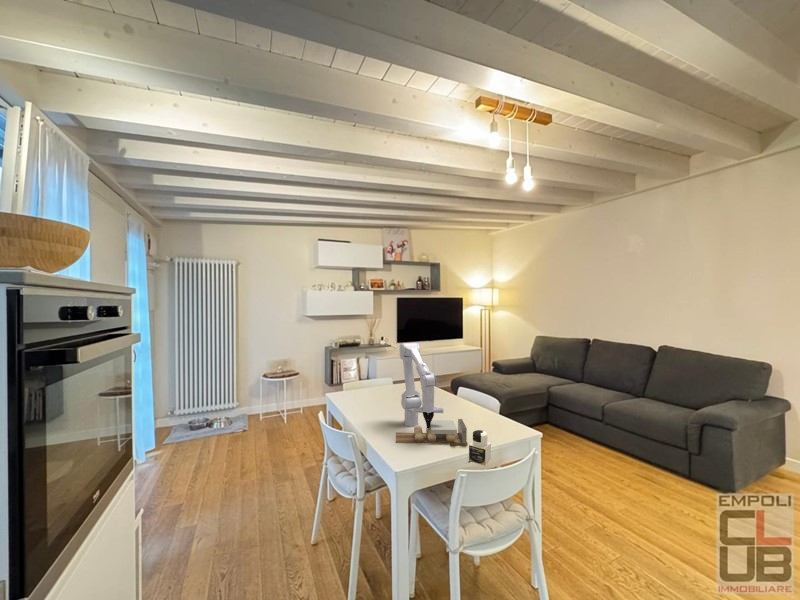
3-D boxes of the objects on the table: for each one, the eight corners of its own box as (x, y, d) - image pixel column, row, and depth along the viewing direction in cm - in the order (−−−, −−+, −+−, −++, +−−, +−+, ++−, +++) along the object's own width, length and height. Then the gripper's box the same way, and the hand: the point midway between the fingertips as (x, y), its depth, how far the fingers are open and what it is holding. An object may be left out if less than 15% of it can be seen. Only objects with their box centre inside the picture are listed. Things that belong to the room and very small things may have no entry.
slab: (429, 424, 168) (429, 420, 168) (453, 424, 168) (453, 420, 168) (431, 433, 156) (431, 429, 156) (457, 434, 156) (457, 429, 156)
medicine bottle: (468, 461, 141) (468, 432, 141) (475, 454, 147) (475, 427, 147) (485, 466, 137) (485, 436, 137) (491, 459, 143) (491, 431, 143)
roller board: (395, 434, 168) (396, 418, 168) (462, 435, 168) (463, 419, 168) (395, 445, 156) (395, 427, 156) (467, 445, 156) (467, 428, 156)
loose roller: (442, 433, 167) (444, 425, 167) (450, 434, 167) (452, 426, 167) (445, 441, 157) (447, 433, 157) (453, 443, 157) (455, 434, 157)
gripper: (413, 401, 158) (413, 430, 158) (444, 402, 158) (444, 431, 158) (412, 397, 165) (412, 425, 165) (442, 397, 165) (442, 425, 165)
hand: (428, 427), depth 162 cm, fingers closed
